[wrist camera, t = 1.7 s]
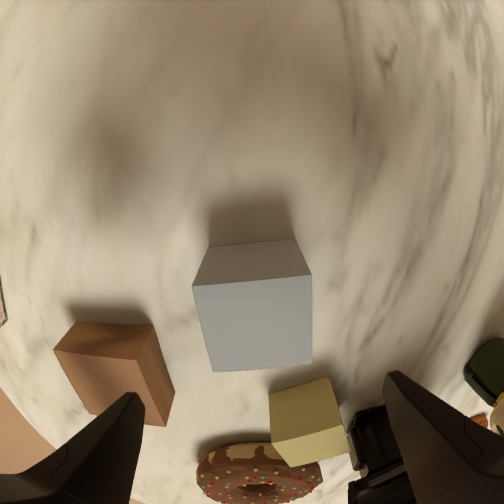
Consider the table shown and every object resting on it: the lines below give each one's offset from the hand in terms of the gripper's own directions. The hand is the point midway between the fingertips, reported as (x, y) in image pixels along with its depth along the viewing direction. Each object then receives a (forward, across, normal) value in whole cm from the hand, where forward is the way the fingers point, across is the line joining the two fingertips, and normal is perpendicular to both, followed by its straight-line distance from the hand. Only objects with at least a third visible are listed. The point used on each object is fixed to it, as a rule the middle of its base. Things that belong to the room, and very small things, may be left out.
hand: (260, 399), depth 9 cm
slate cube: (+9, 0, 0) cm, 9 cm away
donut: (+9, +2, +24) cm, 25 cm away
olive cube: (+9, -3, +12) cm, 15 cm away
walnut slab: (+9, +11, +6) cm, 16 cm away
